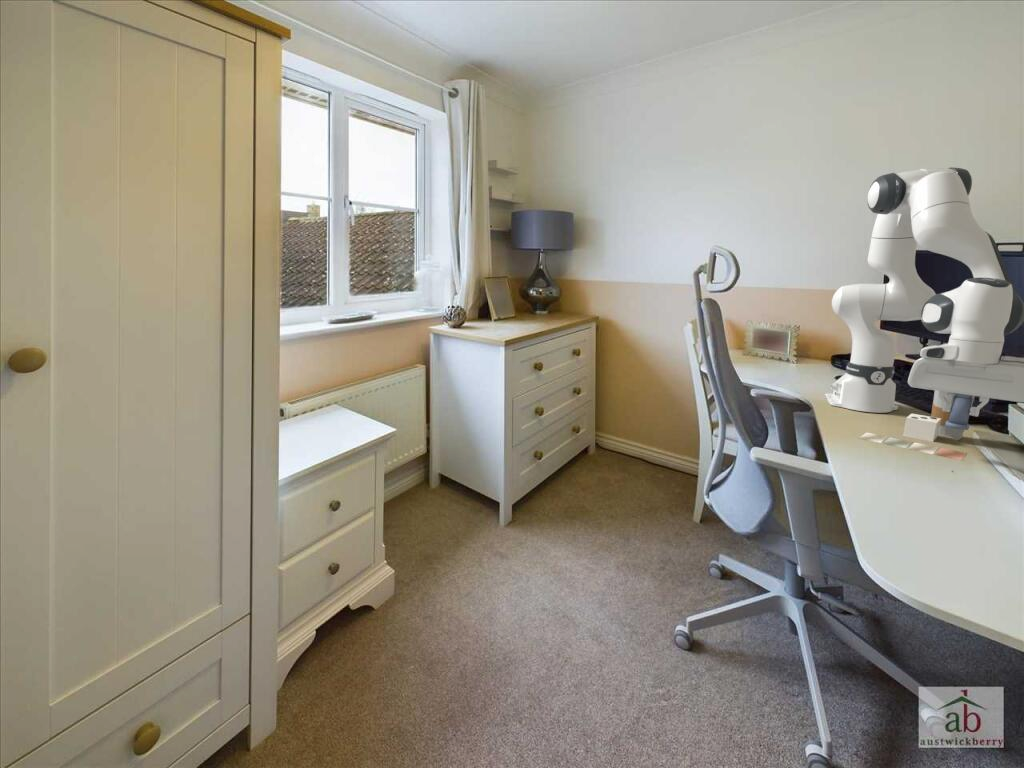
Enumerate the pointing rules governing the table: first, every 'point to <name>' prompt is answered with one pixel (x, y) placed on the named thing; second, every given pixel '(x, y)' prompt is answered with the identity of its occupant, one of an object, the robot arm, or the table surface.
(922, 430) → the die
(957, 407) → the pawn
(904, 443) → the board
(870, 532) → the table surface
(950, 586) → the table surface
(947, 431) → the coffee cup
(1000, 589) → the table surface
